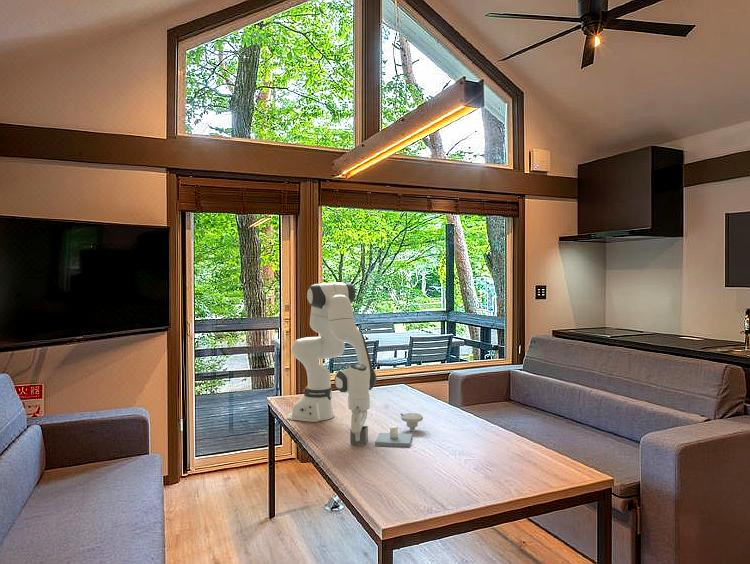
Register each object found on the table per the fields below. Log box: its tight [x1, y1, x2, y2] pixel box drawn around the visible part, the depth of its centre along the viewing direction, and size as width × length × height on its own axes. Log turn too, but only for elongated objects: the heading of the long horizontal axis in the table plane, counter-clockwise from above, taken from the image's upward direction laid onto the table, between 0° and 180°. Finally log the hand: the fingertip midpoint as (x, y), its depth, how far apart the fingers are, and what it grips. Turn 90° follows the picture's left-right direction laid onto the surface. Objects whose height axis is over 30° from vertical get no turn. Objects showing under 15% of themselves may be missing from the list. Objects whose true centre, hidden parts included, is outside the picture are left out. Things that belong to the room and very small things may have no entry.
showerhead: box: [399, 412, 424, 432], centre depth 231 cm, size 9×7×10 cm
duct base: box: [374, 425, 413, 448], centre depth 216 cm, size 14×12×6 cm
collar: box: [349, 425, 369, 446], centre depth 216 cm, size 6×6×6 cm
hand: (359, 437), depth 216 cm, fingers closed on collar, 6 cm apart
